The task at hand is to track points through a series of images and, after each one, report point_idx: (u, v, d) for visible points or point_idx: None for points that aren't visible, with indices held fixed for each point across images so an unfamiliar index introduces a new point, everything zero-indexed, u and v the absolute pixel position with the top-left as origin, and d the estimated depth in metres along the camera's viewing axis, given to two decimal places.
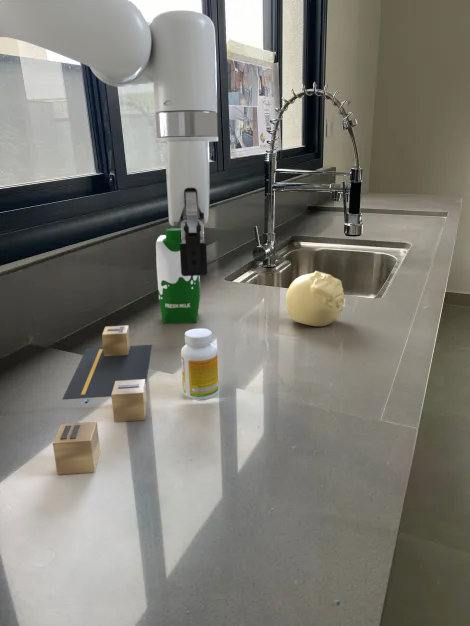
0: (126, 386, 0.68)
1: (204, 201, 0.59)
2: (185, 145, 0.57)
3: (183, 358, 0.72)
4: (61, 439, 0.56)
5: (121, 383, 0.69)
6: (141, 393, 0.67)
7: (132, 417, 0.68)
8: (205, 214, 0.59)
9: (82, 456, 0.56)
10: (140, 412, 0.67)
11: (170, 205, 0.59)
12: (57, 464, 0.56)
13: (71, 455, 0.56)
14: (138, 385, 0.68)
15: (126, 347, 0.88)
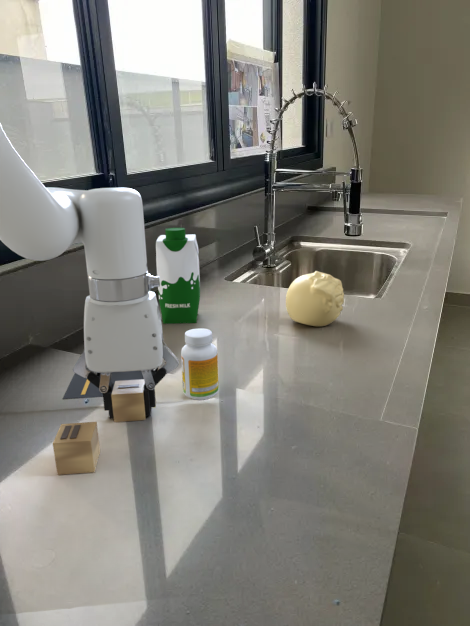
0: (126, 386, 0.68)
1: (85, 352, 0.64)
2: None
3: (183, 358, 0.72)
4: (61, 439, 0.56)
5: (121, 383, 0.69)
6: (141, 393, 0.67)
7: (132, 417, 0.68)
8: (86, 363, 0.65)
9: (82, 456, 0.56)
10: (140, 412, 0.67)
11: None
12: (57, 464, 0.56)
13: (71, 455, 0.56)
14: (138, 385, 0.68)
15: None
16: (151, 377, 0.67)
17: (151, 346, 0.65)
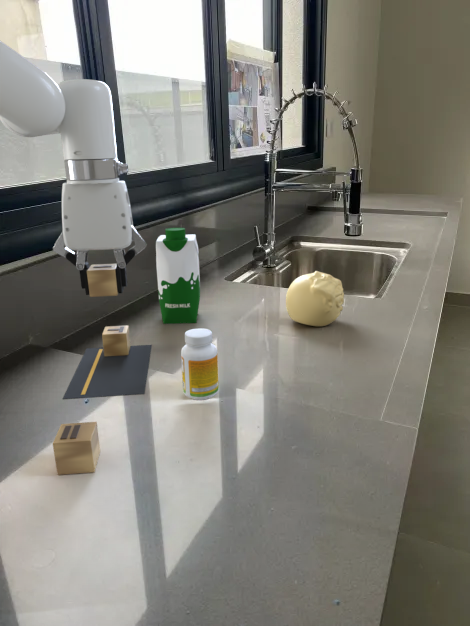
0: (100, 266, 0.77)
1: (63, 231, 0.74)
2: None
3: (183, 358, 0.72)
4: (61, 439, 0.56)
5: (96, 265, 0.79)
6: (113, 270, 0.76)
7: (105, 292, 0.77)
8: (64, 241, 0.74)
9: (82, 456, 0.56)
10: (113, 288, 0.77)
11: None
12: (57, 464, 0.56)
13: (71, 455, 0.56)
14: (111, 265, 0.78)
15: (126, 347, 0.88)
16: (122, 256, 0.76)
17: (121, 225, 0.74)
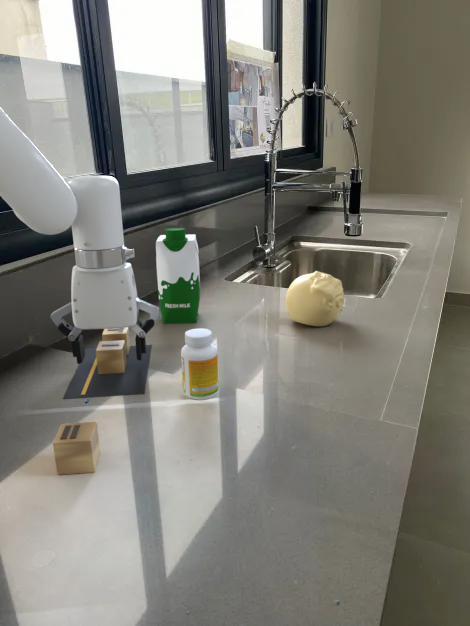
0: (108, 345, 0.82)
1: (72, 312, 0.78)
2: None
3: (183, 358, 0.72)
4: (61, 439, 0.56)
5: (104, 342, 0.83)
6: (120, 349, 0.80)
7: (113, 370, 0.81)
8: (73, 321, 0.78)
9: (82, 456, 0.56)
10: (120, 366, 0.81)
11: None
12: (57, 464, 0.56)
13: (71, 455, 0.56)
14: (118, 344, 0.82)
15: (126, 347, 0.88)
16: (142, 326, 0.80)
17: (127, 307, 0.78)
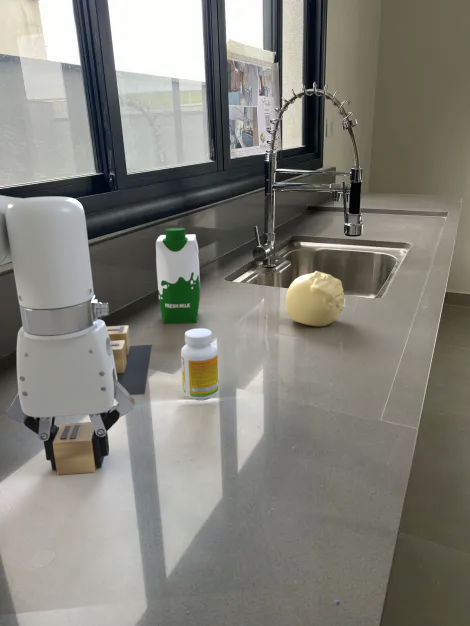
0: None
1: (19, 394, 0.54)
2: None
3: (183, 358, 0.72)
4: (61, 439, 0.56)
5: None
6: (120, 349, 0.80)
7: None
8: (21, 407, 0.54)
9: (82, 456, 0.56)
10: (120, 366, 0.81)
11: None
12: (57, 464, 0.56)
13: (71, 455, 0.56)
14: (118, 344, 0.82)
15: (126, 347, 0.88)
16: (101, 422, 0.56)
17: (99, 386, 0.54)
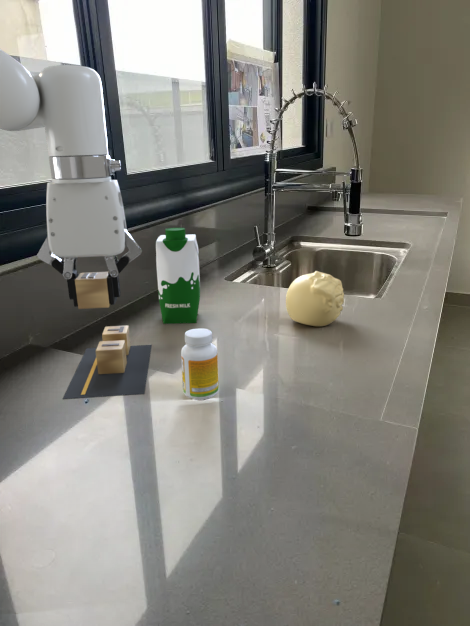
0: (108, 345, 0.82)
1: (48, 236, 0.66)
2: None
3: (183, 358, 0.72)
4: (81, 278, 0.68)
5: (104, 342, 0.83)
6: (120, 349, 0.80)
7: (113, 370, 0.81)
8: (49, 247, 0.66)
9: (99, 293, 0.69)
10: (120, 366, 0.81)
11: None
12: (78, 299, 0.69)
13: (90, 291, 0.68)
14: (118, 344, 0.82)
15: (126, 347, 0.88)
16: (114, 264, 0.68)
17: (112, 229, 0.66)
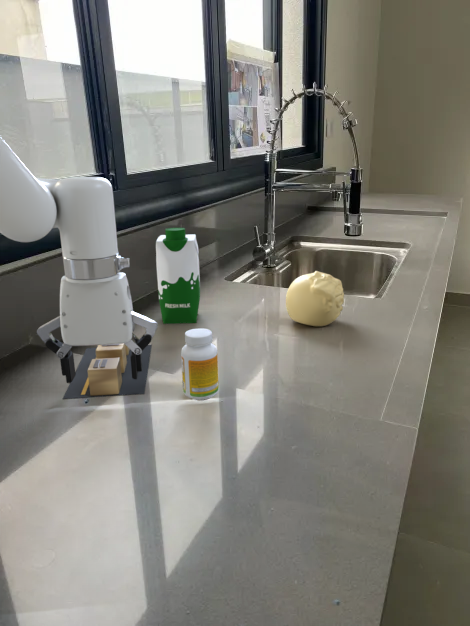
0: (108, 345, 0.82)
1: None
2: None
3: (183, 358, 0.72)
4: (93, 367, 0.74)
5: None
6: (120, 349, 0.80)
7: None
8: (62, 337, 0.71)
9: (110, 381, 0.74)
10: None
11: None
12: (90, 387, 0.74)
13: (101, 380, 0.73)
14: (118, 344, 0.82)
15: (126, 347, 0.88)
16: (138, 342, 0.73)
17: (121, 322, 0.71)
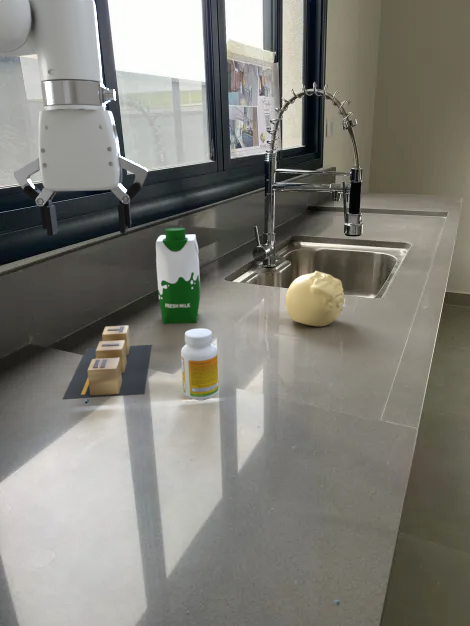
0: (108, 345, 0.82)
1: (40, 167, 0.64)
2: None
3: (183, 358, 0.72)
4: (93, 367, 0.74)
5: (104, 342, 0.83)
6: (120, 349, 0.80)
7: None
8: None
9: (110, 381, 0.74)
10: None
11: None
12: (90, 387, 0.74)
13: (101, 380, 0.73)
14: (118, 344, 0.82)
15: (126, 347, 0.88)
16: None
17: (107, 161, 0.64)
